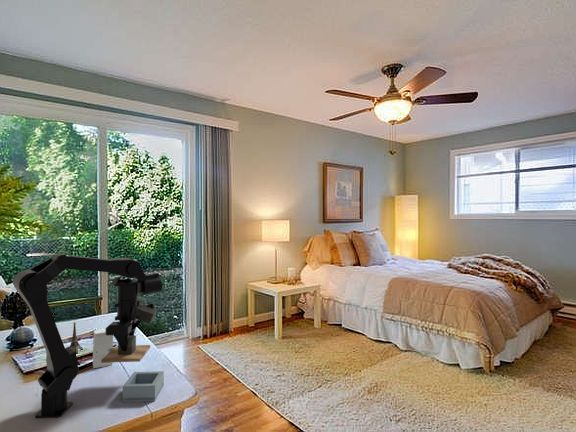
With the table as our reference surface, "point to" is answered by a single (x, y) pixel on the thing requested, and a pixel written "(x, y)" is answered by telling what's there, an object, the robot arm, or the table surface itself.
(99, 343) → the skincare box
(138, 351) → the lid
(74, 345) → the eiffel tower figurine
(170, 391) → the table surface
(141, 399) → the grey open-top tray
